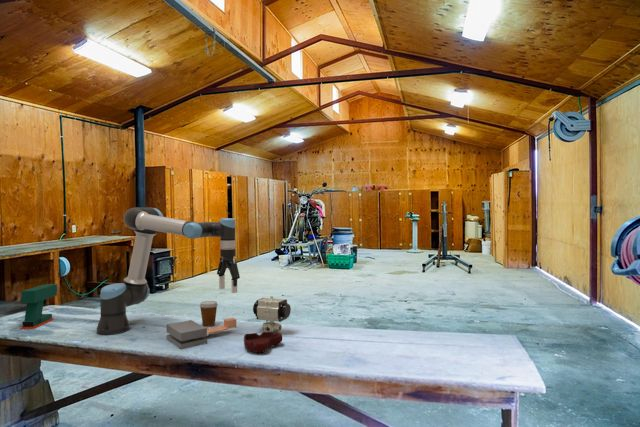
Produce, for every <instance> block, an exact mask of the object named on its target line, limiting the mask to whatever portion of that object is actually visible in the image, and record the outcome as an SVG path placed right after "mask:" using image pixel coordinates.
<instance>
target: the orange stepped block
mask: <svg viewBox="0 0 640 427" xmlns="http://www.w3.org/2000/svg"><path fill="white" fill-rule="evenodd" d="M206 328H207V327H206ZM234 328H237V319H236V318H235V317H230V318H224V319H223V325H219V326H214V327H212V326H211V327H208V328H207V333H209V335H210V334H214V333H220V332H223V331H229V329H234Z"/></svg>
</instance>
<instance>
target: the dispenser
mask: <svg viewBox="0 0 640 427" xmlns="http://www.w3.org/2000/svg"><path fill="white" fill-rule="evenodd" d="M165 328H166V333H168V334H166V340H167V341H168V342H170V343H172V344H173V345H174V346H176V347H177V348H178V349H180V350H183V349H188V348H192V347H197V346H202V345H205V344H206V345H207V343H208V339H207V338H206V337H208V336H209V335H210V334H209V333H207V326H203V324H199V322H195V321H194V320H192V319H190V320H185V321H184V320H183V321H177V322H173V323H168V324H167V323H166V326H165Z"/></svg>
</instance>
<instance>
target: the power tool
mask: <svg viewBox="0 0 640 427" xmlns="http://www.w3.org/2000/svg"><path fill="white" fill-rule="evenodd" d="M59 288H60V286H58V284H57V283H50V284H48V283H47V284H46V283H45V284H41V285H37V286H34V287H31V288H28V289H23V290H21V291H20V292H21V294H20V295H21V296H20V297H21V298H20V300H21V302H20V304H22V305H23V304H26V307H25V314H24V321H22V327H20V330H21V329H24V330H36V329H37V327H38V328H39V327H42V326H43V325H46V324H48V323H50V322H53V321H54V317H53V313H43V309H44V307H45V306H47V300H49V299H50V298H52V297H56V296H58V290H59Z"/></svg>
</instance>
